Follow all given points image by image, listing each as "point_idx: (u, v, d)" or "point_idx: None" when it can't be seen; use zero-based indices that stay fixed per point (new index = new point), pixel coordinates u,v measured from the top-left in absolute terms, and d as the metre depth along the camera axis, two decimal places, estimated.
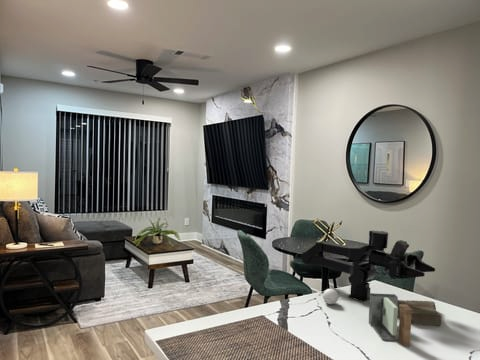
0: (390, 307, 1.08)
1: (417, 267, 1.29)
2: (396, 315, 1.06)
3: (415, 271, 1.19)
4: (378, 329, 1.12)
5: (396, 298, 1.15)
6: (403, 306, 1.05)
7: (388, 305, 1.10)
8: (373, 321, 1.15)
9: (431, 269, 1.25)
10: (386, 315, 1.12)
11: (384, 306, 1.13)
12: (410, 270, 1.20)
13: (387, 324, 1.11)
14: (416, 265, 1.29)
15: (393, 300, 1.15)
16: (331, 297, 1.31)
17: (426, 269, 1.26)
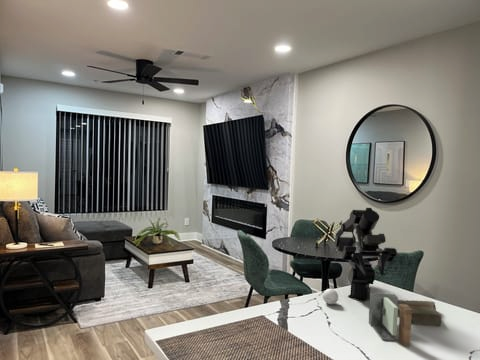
0: (390, 307, 1.08)
1: (379, 261, 1.30)
2: (396, 315, 1.06)
3: (361, 267, 1.27)
4: (378, 329, 1.12)
5: (396, 298, 1.15)
6: (403, 306, 1.05)
7: (388, 305, 1.10)
8: (373, 321, 1.15)
9: (381, 272, 1.26)
10: (386, 315, 1.12)
11: (384, 306, 1.13)
12: (360, 263, 1.28)
13: (387, 324, 1.11)
14: (379, 259, 1.30)
15: (393, 300, 1.15)
16: (331, 297, 1.31)
17: (380, 269, 1.28)
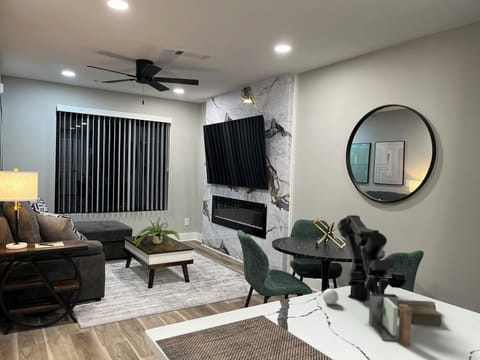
0: (390, 307, 1.08)
1: (378, 287, 1.22)
2: (396, 315, 1.06)
3: None
4: (378, 329, 1.12)
5: (396, 298, 1.15)
6: (403, 306, 1.05)
7: (388, 305, 1.10)
8: (374, 321, 1.15)
9: None
10: (386, 315, 1.12)
11: (384, 306, 1.13)
12: (375, 290, 1.20)
13: (387, 324, 1.11)
14: (379, 285, 1.22)
15: (393, 300, 1.15)
16: (331, 297, 1.31)
17: None
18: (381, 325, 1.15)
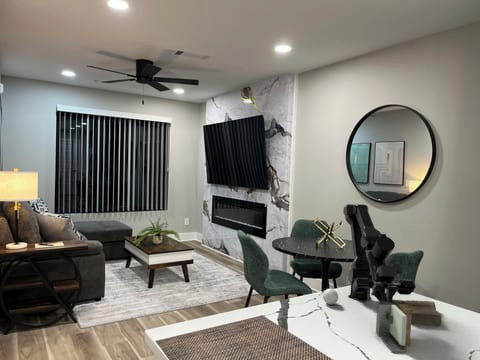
0: (399, 315, 1.02)
1: (386, 294, 1.16)
2: (405, 324, 1.00)
3: None
4: (386, 340, 1.05)
5: None
6: (403, 306, 1.05)
7: (396, 313, 1.04)
8: (381, 331, 1.09)
9: None
10: (393, 323, 1.06)
11: (392, 314, 1.07)
12: (382, 298, 1.13)
13: (394, 333, 1.05)
14: (386, 292, 1.16)
15: None
16: (331, 297, 1.31)
17: None
18: (389, 335, 1.08)
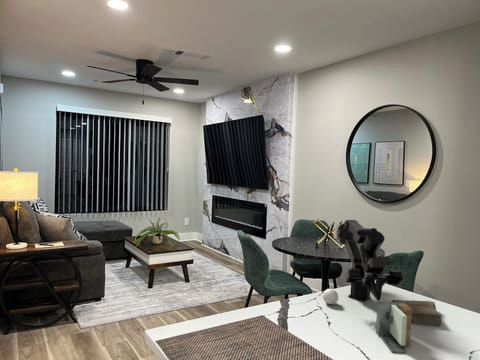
0: (399, 315, 1.02)
1: (376, 284, 1.25)
2: (405, 324, 1.00)
3: (374, 292, 1.22)
4: (386, 340, 1.05)
5: None
6: (403, 306, 1.05)
7: (396, 313, 1.04)
8: (381, 331, 1.09)
9: None
10: (393, 323, 1.06)
11: (392, 314, 1.07)
12: (372, 287, 1.23)
13: (394, 333, 1.05)
14: (376, 282, 1.25)
15: None
16: (331, 297, 1.31)
17: None
18: (389, 335, 1.08)
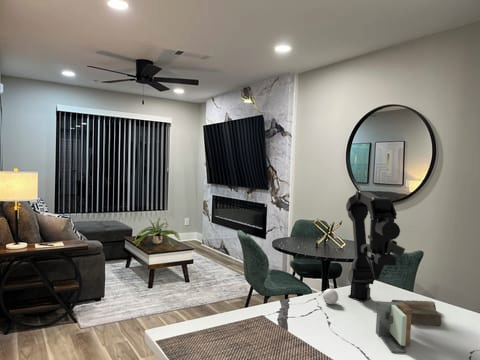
0: (399, 315, 1.02)
1: None
2: (405, 324, 1.00)
3: (379, 272, 1.22)
4: (386, 340, 1.05)
5: None
6: (403, 306, 1.05)
7: (396, 313, 1.04)
8: (381, 331, 1.09)
9: None
10: (393, 323, 1.06)
11: (392, 314, 1.07)
12: (380, 268, 1.22)
13: (394, 333, 1.05)
14: None
15: None
16: (331, 297, 1.31)
17: None
18: (389, 335, 1.08)
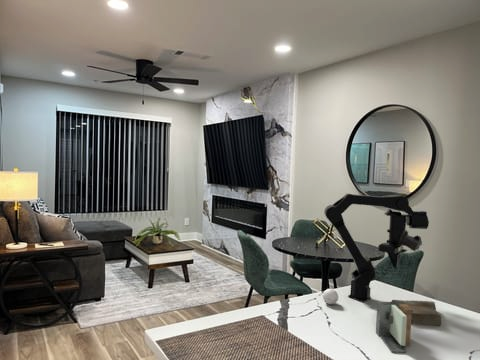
0: (399, 315, 1.02)
1: None
2: (405, 324, 1.00)
3: (395, 261, 1.37)
4: (386, 340, 1.05)
5: None
6: (403, 306, 1.05)
7: (396, 313, 1.04)
8: (381, 331, 1.09)
9: None
10: (393, 323, 1.06)
11: (392, 314, 1.07)
12: (395, 258, 1.37)
13: (394, 333, 1.05)
14: None
15: None
16: (331, 297, 1.31)
17: None
18: (389, 335, 1.08)
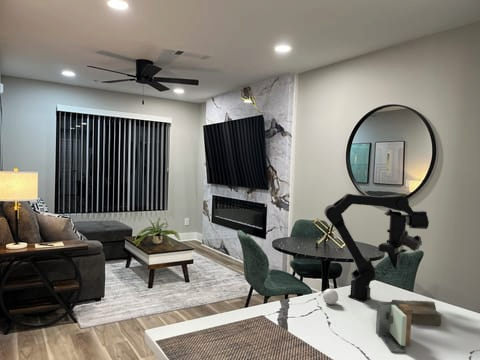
0: (399, 315, 1.02)
1: None
2: (405, 324, 1.00)
3: (395, 261, 1.37)
4: (386, 340, 1.05)
5: None
6: (403, 306, 1.05)
7: (396, 313, 1.04)
8: (381, 331, 1.09)
9: None
10: (393, 323, 1.06)
11: (392, 314, 1.07)
12: (395, 258, 1.37)
13: (394, 333, 1.05)
14: None
15: None
16: (331, 297, 1.31)
17: None
18: (389, 335, 1.08)
